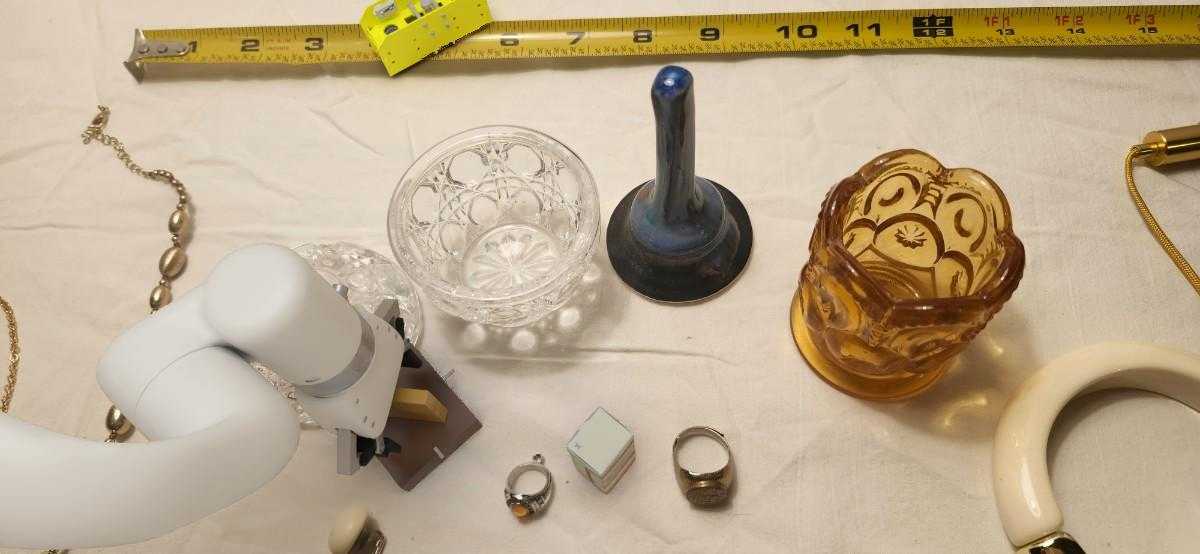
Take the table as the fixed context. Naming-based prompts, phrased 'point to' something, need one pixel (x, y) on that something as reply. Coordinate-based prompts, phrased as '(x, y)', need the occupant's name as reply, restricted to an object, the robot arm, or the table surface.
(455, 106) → the table surface
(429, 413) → the yellow angled block
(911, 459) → the table surface
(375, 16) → the yellow toy chassis
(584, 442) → the pale grey box
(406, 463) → the stand
